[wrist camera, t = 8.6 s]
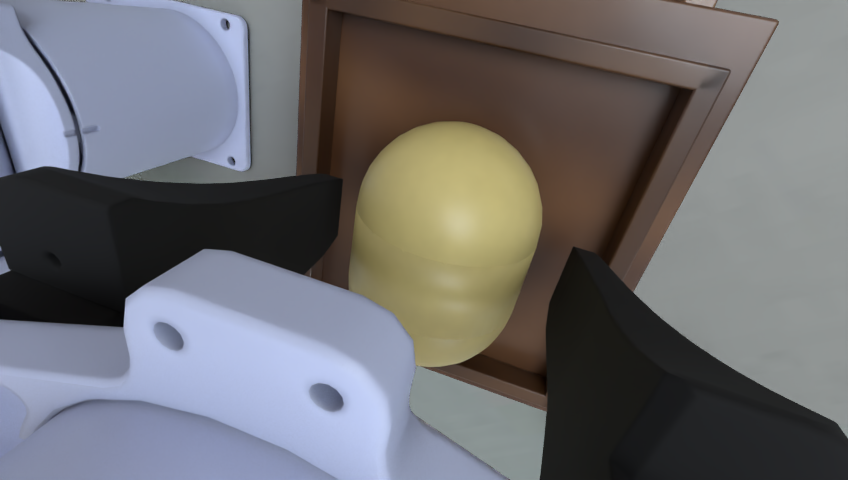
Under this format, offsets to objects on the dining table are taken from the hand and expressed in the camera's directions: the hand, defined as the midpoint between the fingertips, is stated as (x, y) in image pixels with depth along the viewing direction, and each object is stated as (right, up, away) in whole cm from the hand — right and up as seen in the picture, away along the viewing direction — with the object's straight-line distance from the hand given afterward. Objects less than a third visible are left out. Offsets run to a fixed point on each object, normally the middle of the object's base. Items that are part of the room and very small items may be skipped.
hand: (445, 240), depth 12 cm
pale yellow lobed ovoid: (0, +1, +2) cm, 2 cm away
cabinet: (+2, +4, +8) cm, 9 cm away
